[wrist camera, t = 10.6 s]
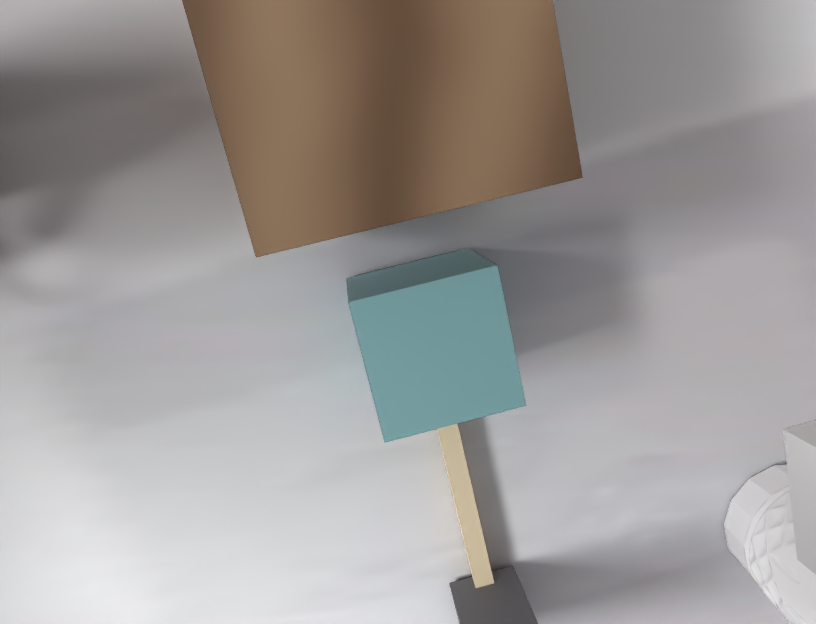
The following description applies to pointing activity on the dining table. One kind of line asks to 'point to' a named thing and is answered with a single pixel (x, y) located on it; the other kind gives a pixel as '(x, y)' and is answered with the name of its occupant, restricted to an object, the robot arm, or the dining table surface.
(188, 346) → the dining table surface
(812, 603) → the white cup
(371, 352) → the double-ended block stick
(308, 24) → the shelf
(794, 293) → the dining table surface
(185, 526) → the dining table surface
